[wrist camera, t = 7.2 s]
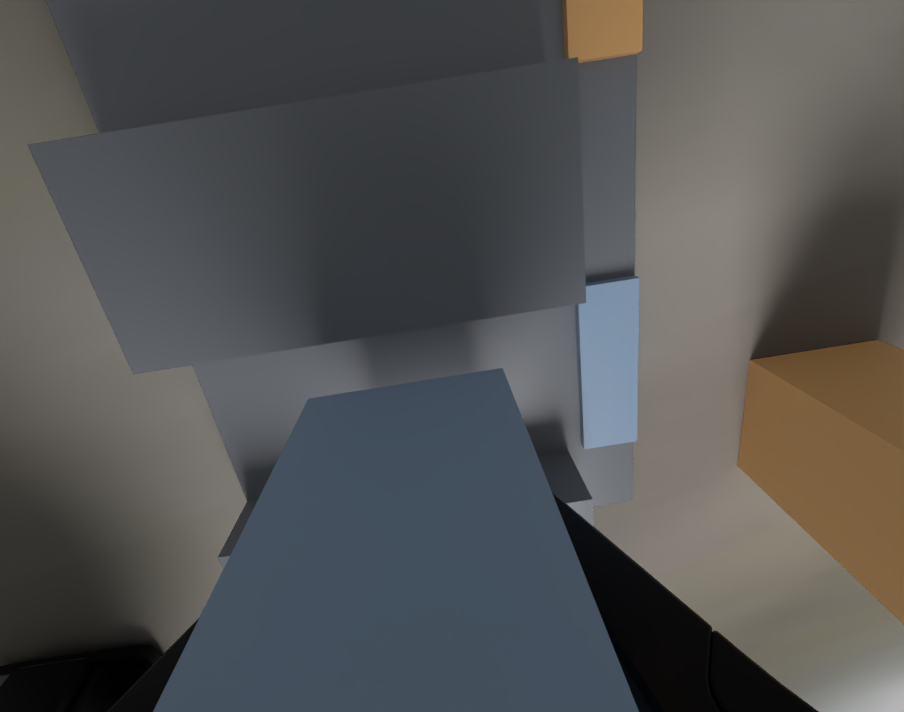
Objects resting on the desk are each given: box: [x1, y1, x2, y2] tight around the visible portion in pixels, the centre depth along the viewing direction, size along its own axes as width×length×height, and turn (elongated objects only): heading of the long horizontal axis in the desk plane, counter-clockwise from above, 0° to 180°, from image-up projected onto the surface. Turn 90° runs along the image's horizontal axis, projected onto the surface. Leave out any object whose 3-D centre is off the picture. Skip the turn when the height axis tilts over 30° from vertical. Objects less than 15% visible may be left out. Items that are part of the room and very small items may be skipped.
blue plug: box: [153, 368, 639, 712], centre depth 6 cm, size 4×4×8 cm
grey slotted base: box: [28, 0, 643, 569], centre depth 10 cm, size 20×12×3 cm, turn 8°
